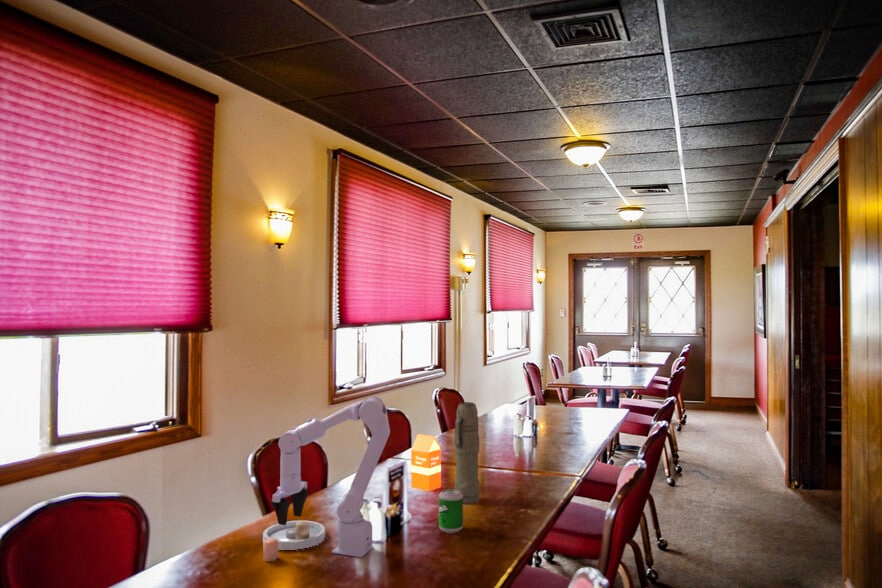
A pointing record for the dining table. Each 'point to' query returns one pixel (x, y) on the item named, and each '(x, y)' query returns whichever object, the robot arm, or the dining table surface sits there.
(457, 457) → the thermos
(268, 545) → the ball
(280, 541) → the groove tray
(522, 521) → the dining table surface
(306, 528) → the maple bead
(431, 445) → the orange juice
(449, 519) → the soda can
